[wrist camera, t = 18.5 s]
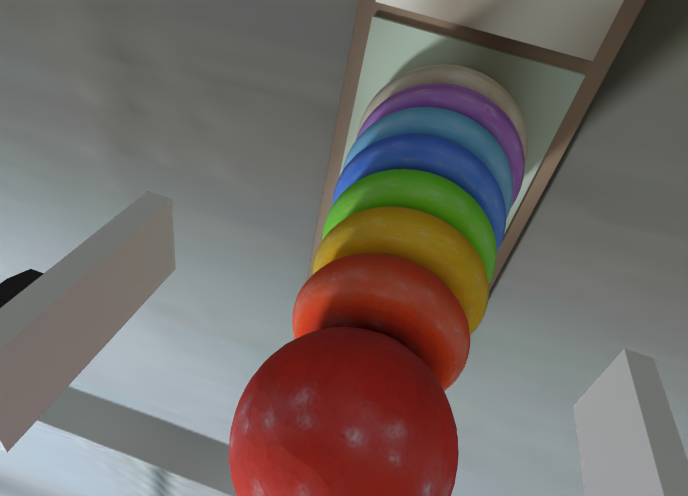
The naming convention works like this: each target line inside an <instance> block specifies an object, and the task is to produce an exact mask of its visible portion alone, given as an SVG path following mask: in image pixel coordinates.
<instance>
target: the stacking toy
mask: <svg viewBox="0 0 688 496" xmlns="http://www.w3.org/2000/svg"><path fill="white" fill-rule="evenodd" d="M527 153H528V136H527V129H526V124H525V121H524V118H523V115H522V113H521V111H520V109H519V107H518V105H517V104H516V102H515V101H514V99H513V98H512V96H511V95H510V94H509V93H508V92H507V91H506V90H505V89H504V88H503V87H502V86H501V85H500V84H498V83H497V82H496V81H495V80H493V79H492V78H490V77H488V76H487V75H485V74H483V73H481V72H478V71H476V70H474V69H471V68H467V67H463V66H458V65H449V64H438V65H429V66H424V67H420V68H417V69H414V70H411V71H408V72H406V73H404V74H402V75H400V76H398V77H396V78H395V79H393V80H392V81H390V82H389V83H388V84H386V85H385V86H384V87H383V88H382V89H381V90H380V91H379V92H378V93H377V94H376V95H375V96H374V98H373V99H372V101H371V102H370V103H369V105H368V106H367V108H366V110H365V112H364V114H363V116H362V119H361V122H360V125H359V129H358V134H357V138H356V141H355V143H354V144H353V146H352V147H351V149H350V151H349V153H348V155H347V157H346V160H345V163H344V166H343V171H342V173H341V175H340V177H339V179H338V181H337V184H336V187H335V191H334V195H333V202H332V207H331V209H330V211H329V213H328V215H327V218H326V220H325V224H324V228H323V236H322V242H321V244H320V246H319V248H318V250H317V253H316V255H315V259H314V263H313V275H312V276H311V277H310V278H309V279H308V280H307V282H306V283H305V284H304V286H303V287H302V289H301V290H300V292H299V294H298V296H297V299H296V302H295V305H294V309H293V331H294V337H295V340H293V341H291V342H289V343H287V344H286V345H284V346H283V347H282V348H280V349H279V350H278V351H276V352H275V353H274V354H273V355H271V356H270V357H269V358H268V359H267V360H266V361H265V362H264V363H263V364H262V366H261V367H260V368H259V369H258V371H257V372H256V373H255V374H254V376H253V377H252V378H251V380H250V381H249V383H248V385H247V386H246V388H245V390H244V392H243V394H242V396H241V398H240V400H239V403H238V406H237V409H236V412H235V415H234V419H233V423H232V427H231V433H230V444H229V463H230V469H231V477H232V481H233V485H234V488H235V491H236V494H237V496H451V493H452V490H453V487H454V484H455V478H456V472H457V466H458V437H457V428H456V424H455V421H454V417H453V414H452V410H451V407H450V404H449V402H448V399H447V397H446V394H445V392H444V391H445V390H446V389H447V388H449V387H450V386H451V385H452V384H453V383H454V382H455V381H456V379H457V378H458V377H459V375H460V373H461V372H462V370H463V369H464V367H465V364H466V361H467V358H468V354H469V349H470V335H471V334H472V333H473V332H474V331H475V330H476V328H477V327H478V325H479V324H480V322H481V320H482V318H483V316H484V314H485V311H486V308H487V304H488V298H489V283H490V281H491V279H492V276H493V273H494V270H495V265H496V258H497V251H498V249H499V247H500V245H501V243H502V240H503V237H504V233H505V228H506V220H507V217H508V215H509V212H510V209H511V207H512V206H513V204H514V202H515V201H516V199H517V196H518V194H519V192H520V189H521V186H522V182H523V178H524V168H525V163H526V159H527Z"/></svg>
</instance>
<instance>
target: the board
mask: <svg viewBox="0 0 688 496" xmlns="http://www.w3.org/2000/svg"><path fill="white" fill-rule="evenodd" d="M645 1H646V0H359V3H358V8H357V13H356V19H355V24H354V30H353V35H352V40H351V46H350V51H349V56H348V62H347V67H346V73H345V78H344V83H343V89H342V94H341V99H340V105H339V110H338V115H337V121H336V126H335V132H334V137H333V142H332V148H331V153H330V158H329V164H328V169H327V175H326V180H325V185H324V191H323V196H322V201H321V207H320V212H319V218H318V223H317V228H316V234H315V239H314V244H313V250H312V255H311V260H310V266H309V271H308V277H307V280H308V279H309V278H310V277H311V276H312V275H313V263H314V259H315V255H316V253H317V250H318V248H319V246H320V244H321V242H322V236H323V228H324V224H325V220H326V218H327V215H328V213H329V211H330V209H331V207H332V202H333V195H334V191H335V187H336V184H337V181H338V179H339V177H340V175H341V173H342V171H343V166H344V163H345V160H346V157H347V155H348V153H349V151H350V149H351V147H352V146H353V144H354V143H355V141H356V138H357V134H358V129H359V125H360V122H361V119H362V116H363V114H364V112H365V110H366V108H367V106H368V105H369V103H370V102H371V101H372V99H373V98H374V96H375V95H376V94H377V93H378V92H379V91H380V90H381V89H382V88H383V87H384V86H385V85H386V84H388V83H389V82H390V81H392V80H393V79H395V78H396V77H398V76H400V75H402V74H404V73H406V72H408V71H411V70H414V69H417V68H420V67H424V66H429V65H438V64H449V65H458V66H463V67H467V68H471V69H474V70H476V71H478V72H481V73H483V74H485V75H487V76H488V77H490V78H492V79H493V80H495V81H496V82H497V83H498V84H500V85H501V86H502V87H503V88H504V89H505V90H506V91H507V92H508V93H509V94H510V95H511V96H512V98H513V99H514V101H515V102H516V104H517V105H518V107H519V109H520V111H521V113H522V115H523V118H524V121H525V124H526V129H527V136H528V153H527V159H526V163H525V168H524V178H523V182H522V186H521V189H520V192H519V194H518V196H517V199H516V201H515V202H514V204H513V206H512V207H511V209H510V212H509V215H508V217H507V220H506V228H505V233H504V237H503V240H502V243H501V245H500V247H499V249H498V251H497V258H496V265H495V270H494V273H493V276H492V279H491V281H490V283H489V291H490V289H491V287H492V285H493V284H494V282H495V280H496V278H497V276H498V274H499V272H500V271H501V269H502V267H503V265H504V263H505V261H506V259H507V258H508V256H509V254H510V252H511V250H512V248H513V246H514V245H515V243H516V241H517V239H518V237H519V235H520V233H521V232H522V230H523V228H524V226H525V224H526V222H527V220H528V219H529V217H530V215H531V213H532V211H533V209H534V207H535V206H536V204H537V202H538V200H539V198H540V196H541V194H542V193H543V191H544V189H545V187H546V185H547V183H548V181H549V180H550V178H551V176H552V174H553V172H554V170H555V168H556V167H557V165H558V163H559V161H560V159H561V157H562V155H563V154H564V152H565V150H566V148H567V146H568V144H569V142H570V141H571V139H572V137H573V135H574V133H575V131H576V129H577V128H578V126H579V124H580V122H581V120H582V118H583V116H584V115H585V113H586V111H587V109H588V107H589V105H590V103H591V102H592V100H593V98H594V96H595V94H596V92H597V90H598V89H599V87H600V85H601V83H602V81H603V79H604V77H605V76H606V74H607V72H608V70H609V68H610V66H611V64H612V63H613V61H614V59H615V57H616V55H617V53H618V51H619V50H620V48H621V46H622V44H623V42H624V40H625V38H626V36H627V35H628V33H629V31H630V29H631V27H632V25H633V23H634V22H635V20H636V18H637V16H638V14H639V12H640V10H641V9H642V7H643V5H644V3H645Z"/></svg>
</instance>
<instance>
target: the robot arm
mask: <svg viewBox="0 0 688 496" xmlns="http://www.w3.org/2000/svg"><path fill="white" fill-rule="evenodd" d="M175 269H176V268H175V251H174V233H173V216H172V199H170V198H167V197H164V196H161V195H158V194H154V193H151V192H146V193H145V194H144V195H143V196H141V197H140V198H139V199H138V200H136V201H135V202H134V203H132V204H131V205H130V206H129V207H127V208H126V209H125V210H124V211H122V212H121V213H120V214H119V215H117V216H116V217H115V218H114V219H112V220H111V221H110V222H108V223H107V224H106V225H105V226H103V227H102V228H101V229H100V230H98V231H97V232H96V233H95V234H93V235H92V236H91V237H90V238H88V239H87V240H86V241H85V242H83V243H82V244H81V245H79V246H78V247H77V248H76V249H74V250H73V251H72V252H71V253H69V254H68V255H67V256H66V257H64V258H63V259H62V260H61V261H59V262H58V263H57V264H56V265H54V266H53V267H52V268H50V269H49V270H48V271H47V272H45V273H41V272H38V271H35V270H33V269H29V270H27V271H25V272H22V273H20V274H17V275H15V276H13V277H10V278H8V279H6V280H5V281H3V282H2V283H0V450H2V451H4V452H8V451H9V450H10V449H11V448H12V447H13V446H14V445H15V444H16V442H17V441H18V440H19V439H20V438H21V437H22V436H23V435H24V434H25V433H26V431H27V430H28V429H29V428H30V427H31V426H32V425H33V424H34V423H35V422H36V421H37V419H38V418H39V417H40V416H41V415H42V414H43V413H44V412H45V411H46V409H47V408H48V407H49V406H50V405H51V404H52V403H53V402H54V401H55V400H56V399H57V398H58V396H59V395H60V394H61V393H62V392H63V391H64V390H65V389H66V388H67V387H68V386H69V384H70V383H71V382H72V381H73V380H74V379H75V378H76V377H77V376H78V375H79V374H80V372H81V371H82V370H83V369H84V368H85V367H86V366H87V365H88V364H89V363H90V361H91V360H92V359H93V358H94V357H95V356H96V355H97V354H98V353H99V352H100V351H101V349H102V348H103V347H104V346H105V345H106V344H107V343H108V342H109V341H110V340H111V339H112V337H113V336H114V335H115V334H116V333H117V332H118V331H119V330H120V329H121V328H122V326H123V325H124V324H125V323H126V322H127V321H128V320H129V319H130V318H131V317H132V316H133V314H134V313H135V312H136V311H137V310H138V309H139V308H140V307H141V306H142V305H143V304H144V302H145V301H146V300H147V299H148V298H149V297H150V296H151V295H152V294H153V293H154V291H155V290H156V289H157V288H158V287H159V286H160V285H161V284H162V283H163V282H164V281H165V279H166V278H167V277H168V276H169V275H170V274H171V273H172V272H173V271H174V270H175ZM573 411H574V418H575V425H576V433H577V440H578V447H579V455H580V462H581V469H582V477H583V484H584V491H585V496H688V461H687V458H686V454H685V451H684V448H683V445H682V442H681V439H680V436H679V433H678V430H677V427H676V424H675V421H674V418H673V415H672V412H671V409H670V406H669V403H668V400H667V397H666V394H665V391H664V388H663V385H662V382H661V379H660V376H659V373H658V370H657V367H656V364H655V361H654V358H651V357H648V356H645V355H642V354H639V353H636V352H633V351H630V350H627V349H624V350H623V351H622V352H621V353H620V354H619V355H618V356H617V357H616V358H615V360H614V361H613V362H612V363H611V364H610V365H609V366H608V367H607V369H606V370H605V371H604V372H603V373H602V374H601V375H600V376H599V378H598V379H597V380H596V381H595V382H594V383H593V384H592V385H591V386H590V388H589V389H588V390H587V391H586V392H585V393H584V394H583V395H582V397H581V398H580V399H579V400H578V401H577V402H576V403H575V404H574V406H573Z"/></svg>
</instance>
